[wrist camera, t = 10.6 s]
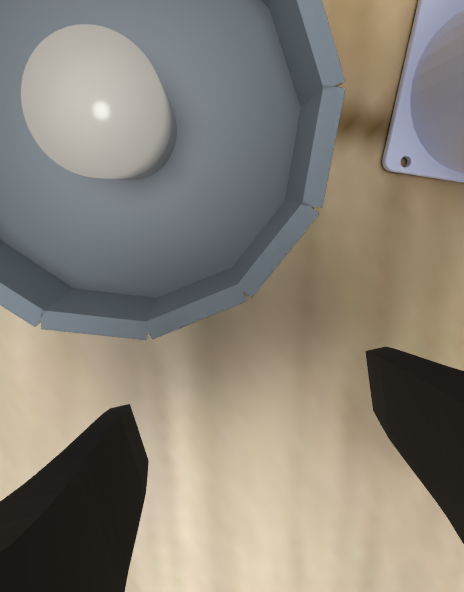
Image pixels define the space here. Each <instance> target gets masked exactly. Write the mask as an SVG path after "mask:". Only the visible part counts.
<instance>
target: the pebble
mask: <svg viewBox="0 0 464 592" xmlns="http://www.w3.org/2000/svg"><path fill="white" fill-rule="evenodd" d="M21 103H22V109H23V114H24V117H25V120H26V123H27V126H28V128H29V130H30V132H31V134H32V136H33V138H34V139H35V141H36V143H37V144H38V145H39V146H40V148H41V149H42V150H43V151H44V152H45V153H46V154H47V155H48V156H49V157H50V158H51V159H52V160H53V161H54V162H56V163H57V164H58V165H60V166H62V167H63V168H65V169H67V170H69V171H71V172H73V173H76V174H79V175H82V176H86V177H91V178H103V179H115V180H130V181H131V180H139V179H143V178H146V177H149V176H151V175H152V174H154V173H156V172H157V171H158V170H160V169H161V168H162V167H163V166H164V165H165V163H166V162H167V161H168V159H169V158H170V156H171V154H172V152H173V149H174V146H175V142H176V136H177V126H176V119H175V114H174V111H173V109H172V106H171V104H170V102H169V100H168V97H167V95H166V93H165V91H164V89H163V87H162V84H161V82H160V80H159V78H158V76H157V74H156V72H155V70H154V68H153V66H152V64H151V63H150V61H149V60H148V58H147V57H146V55H145V54H144V53H143V52H142V51H141V50H140V48H138V47H137V46H136V45H135V44H134V43H133V42H132V41H130V40H129V39H128V38H126V37H125V36H123V35H122V34H120V33H118V32H116V31H114V30H111V29H109V28H106V27H102V26H98V25H90V24H80V25H73V26H68V27H65V28H62V29H60V30H57V31H56V32H54V33H52V34H50V35H49V36H48V37H46V38H45V39H44V40H43V41H42V42H41V43H40V44H39V45H38V46H37V47H36V48H35V50H34V51H33V53H32V54H31V56H30V58H29V60H28V62H27V64H26V66H25V70H24V73H23V77H22V83H21Z"/></svg>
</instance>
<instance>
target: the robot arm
mask: <svg viewBox="0 0 464 592" xmlns="http://www.w3.org/2000/svg"><path fill="white" fill-rule="evenodd" d="M403 157H405V158H406V159H407V164H406V166H405V167H402V166H401V164H400V161H401V159H402V158H403ZM382 164H383V167H384V168H385V169H386V170H387V171H390V172H396V173H403V174H409V175H416V176H422V177H429V178H435V179H442V180H448V181H455V182H461V183H464V0H418V5H417V9H416V14H415V18H414V22H413V27H412V31H411V36H410V40H409V44H408V49H407V53H406V58H405V62H404V67H403V71H402V75H401V80H400V84H399V89H398V93H397V97H396V102H395V106H394V111H393V115H392V119H391V124H390V128H389V133H388V137H387V141H386V146H385V150H384V155H383V159H382ZM366 359H367V366H368V374H369V382H370V389H371V397H372V405H373V411H374V413H375V415H376V416H377V418H378V420H379V422H380V424H381V426H382V427H383V429H384V431H385V433H386V434H387V436H388V438H389V439H390V441H391V442H392V443H393V445H394V446H395V447H396V449H397V450H398V452H399V453H400V454H401V456H402V457H403V458H404V460H405V461H406V462H407V464H408V465H409V466H410V468H411V469H412V470H413V471H414V473H415V474H416V475H417V477H418V478H419V479H420V481H421V482H422V483H423V485H424V486H425V487H426V489H427V490H428V491H429V493H430V494H431V495H432V497H433V498H434V499H435V501H436V502H437V503H438V505H439V506H440V508H441V509H442V511H443V512H444V513H445V515H446V516H447V518H448V519H449V521H450V523H451V524H452V526H453V527H454V529H455V531H456V532H457V534H458V536H459V537H460V539H461V540H462V542H463V544H464V371H461V370H458V369H455V368H451V367H448V366H445V365H442V364H439V363H436V362H433V361H430V360H427V359H424V358H421V357H418V356H415V355H412V354H409V353H406V352H403V351H400V350H397V349H393V348H389V347H382V348H377V349H373V350H369V351H366ZM147 475H148V458H147V455H146V452H145V449H144V446H143V443H142V440H141V437H140V434H139V430H138V427H137V424H136V421H135V418H134V415H133V412H132V409H131V406H130V404H128V405H124V406H119V407H115V408H110V409H109V410H107V411H106V412H105V413H103V414H102V415H101V416H100V417H99V418H98V419H97V420H96V421H94V422H93V423H92V424H91V425H90V426H89V427H88V428H87V429H86V430H85V431H84V432H83V433H82V434H81V435H79V436H78V437H77V438H76V439H75V440H74V441H73V442H72V443H71V444H70V445H69V446H68V447H67V448H66V449H64V450H63V451H62V452H61V453H60V454H59V455H58V456H56V457H55V458H54V459H53V460H52V461H51V462H50V463H48V464H47V465H46V466H45V467H44V468H43V469H41V470H40V471H39V472H38V473H37V474H36V475H34V476H33V477H32V478H31V479H30V480H28V481H27V482H26V483H24V484H23V485H22V486H21V487H19V488H18V489H17V490H15V491H14V492H13V493H11V494H10V495H9V496H7V497H6V498H4V499H3V500H2V501H0V592H125V586H126V581H127V575H128V570H129V566H130V561H131V557H132V552H133V548H134V544H135V539H136V535H137V531H138V526H139V522H140V517H141V513H142V508H143V504H144V499H145V494H146V486H147Z"/></svg>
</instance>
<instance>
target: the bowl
mask: <svg viewBox="0 0 464 592" xmlns="http://www.w3.org/2000/svg"><path fill="white" fill-rule="evenodd" d="M80 24H90V25H98V26H102V27H106V28H109V29H111V30H114V31H116V32H118V33H120V34H122V35H123V36H125V37H126V38H128V39H129V40H130V41H132V42H133V43H134V44H135V45H136V46H137V47H138V48H140V50H141V51H142V52H143V53H144V54H145V55H146V57H147V58H148V60H149V61H150V63H151V64H152V66H153V68H154V70H155V72H156V74H157V76H158V78H159V80H160V82H161V84H162V87H163V89H164V91H165V93H166V95H167V97H168V100H169V102H170V104H171V106H172V109H173V111H174V114H175V119H176V126H177V136H176V142H175V146H174V149H173V152H172V154H171V156H170V158H169V159H168V161H167V162H166V163H165V165H164V166H163V167H162V168H161V169H160V170H158V171H157V172H156V173H154V174H152V175H151V176H149V177H146V178H143V179H139V180H131V181H130V180H115V179H103V178H91V177H86V176H82V175H79V174H76V173H73V172H71V171H69V170H67V169H65V168H63V167H62V166H60V165H58V164H57V163H56V162H54V161H53V160H52V159H51V158H50V157H49V156H48V155H47V154H46V153H45V152H44V151H43V150H42V149H41V148H40V146H39V145H38V144H37V143H36V141H35V139H34V138H33V136H32V134H31V132H30V130H29V128H28V126H27V123H26V120H25V117H24V114H23V109H22V103H21V83H22V77H23V73H24V70H25V66H26V64H27V62H28V60H29V58H30V56H31V54H32V53H33V51H34V50H35V48H36V47H37V46H38V45H39V44H40V43H41V42H42V41H43V40H44V39H45V38H46V37H48V36H49V35H50V34H52V33H54V32H56V31H57V30H60V29H62V28H65V27H68V26H73V25H80ZM343 82H345V79H344V76H343V72H342V69H341V65H340V62H339V58H338V55H337V51H336V48H335V44H334V41H333V37H332V34H331V30H330V27H329V23H328V20H327V16H326V13H325V9H324V6H323V2H322V0H0V305H1V306H3V307H4V308H6V309H7V310H9V311H11V312H12V313H14V314H15V315H17V316H18V317H20V318H22V319H23V320H25V321H26V322H28V323H30V324H31V325H33V326H34V327H36V326H37V325H38V324H39V323H41V329H46V330H55V331H64V332H74V333H83V334H93V335H102V336H112V337H121V338H131V339H140V340H147V338H148V335H149V334H150V336H151V338H152V339H155V338H157V337H159V336H162V335H164V334H167V333H169V332H172V331H174V330H177V329H179V328H182V327H184V326H187V325H189V324H192V323H194V322H196V321H199V320H201V319H204V318H206V317H209V316H211V315H214V314H216V313H219V312H221V311H224V310H226V309H229V308H231V307H233V306H236V305H238V304H241V303H243V302H246V301H247V300H246V297H245V294H244V292H245V293H246V294H248V295H249V296H250V297H253V295H254V294H255V293H256V292H257V290H258V289H259V288H260V287H261V285H262V284H263V283H264V282H265V280H266V279H267V278H268V277H269V276H270V274H271V273H272V272H273V271H274V269H275V268H276V267H277V266H278V264H279V263H280V262H281V261H282V259H283V258H284V257H285V256H286V255H287V253H288V252H289V251H290V250H291V248H292V247H293V246H294V245H295V243H296V242H297V241H298V240H299V238H300V237H301V236H302V235H303V234H304V232H305V231H306V230H307V229H308V227H309V226H310V225H311V224H312V222H313V221H314V220H315V219H316V217H317V216H318V215H319V213H318V212H317V211H315V210H314V209H313V208H312V207H319V208H322V206H323V201H324V196H325V191H326V186H327V180H328V175H329V170H330V165H331V160H332V155H333V150H334V144H335V139H336V134H337V129H338V124H339V119H340V114H341V108H342V103H343V98H344V93H345V88H340V87H338V86H339V85H341V84H342V83H343ZM311 206H312V207H311Z"/></svg>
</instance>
